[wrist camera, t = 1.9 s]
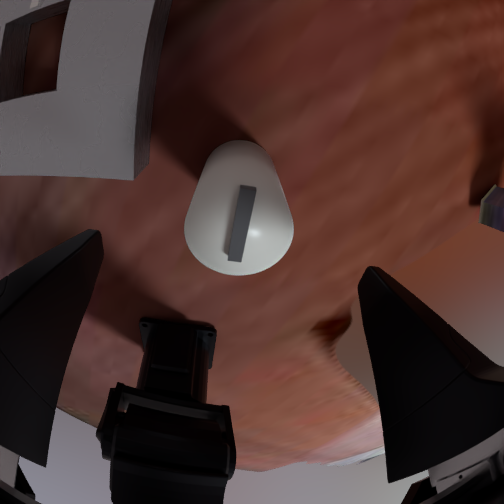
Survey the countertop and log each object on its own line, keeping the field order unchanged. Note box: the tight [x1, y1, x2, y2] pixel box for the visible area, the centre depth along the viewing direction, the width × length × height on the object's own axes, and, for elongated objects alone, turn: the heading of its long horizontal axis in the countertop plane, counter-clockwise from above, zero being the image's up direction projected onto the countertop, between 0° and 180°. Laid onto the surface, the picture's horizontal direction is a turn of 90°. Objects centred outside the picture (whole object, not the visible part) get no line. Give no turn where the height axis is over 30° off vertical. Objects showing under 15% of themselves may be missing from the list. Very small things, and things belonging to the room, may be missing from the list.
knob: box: [184, 140, 294, 275], centre depth 12 cm, size 4×4×6 cm
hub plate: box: [0, 0, 172, 180], centre depth 7 cm, size 14×14×3 cm
